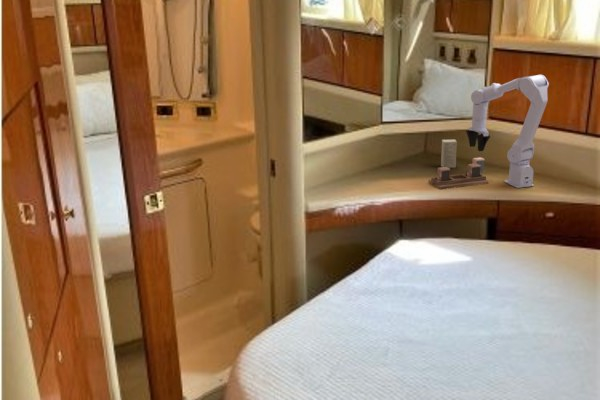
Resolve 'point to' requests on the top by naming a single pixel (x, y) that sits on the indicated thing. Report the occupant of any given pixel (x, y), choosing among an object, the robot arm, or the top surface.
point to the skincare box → (448, 153)
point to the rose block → (480, 162)
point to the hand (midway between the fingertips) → (476, 148)
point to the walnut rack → (458, 178)
